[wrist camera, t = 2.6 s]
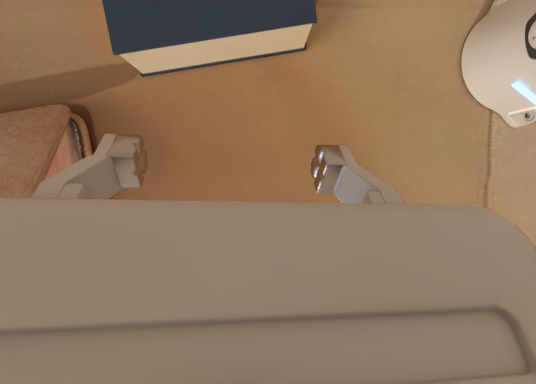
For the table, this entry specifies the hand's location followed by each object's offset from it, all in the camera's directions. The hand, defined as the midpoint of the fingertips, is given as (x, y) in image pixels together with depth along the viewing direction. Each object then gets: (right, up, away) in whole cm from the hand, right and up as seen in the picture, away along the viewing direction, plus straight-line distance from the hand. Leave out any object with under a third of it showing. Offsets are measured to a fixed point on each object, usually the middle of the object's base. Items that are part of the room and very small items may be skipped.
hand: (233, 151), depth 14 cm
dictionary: (-6, +24, +26) cm, 36 cm away
